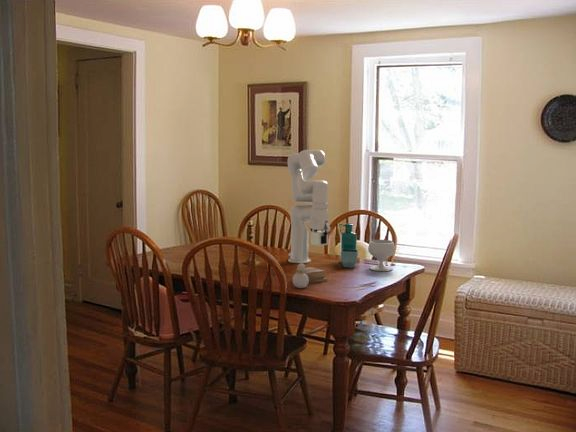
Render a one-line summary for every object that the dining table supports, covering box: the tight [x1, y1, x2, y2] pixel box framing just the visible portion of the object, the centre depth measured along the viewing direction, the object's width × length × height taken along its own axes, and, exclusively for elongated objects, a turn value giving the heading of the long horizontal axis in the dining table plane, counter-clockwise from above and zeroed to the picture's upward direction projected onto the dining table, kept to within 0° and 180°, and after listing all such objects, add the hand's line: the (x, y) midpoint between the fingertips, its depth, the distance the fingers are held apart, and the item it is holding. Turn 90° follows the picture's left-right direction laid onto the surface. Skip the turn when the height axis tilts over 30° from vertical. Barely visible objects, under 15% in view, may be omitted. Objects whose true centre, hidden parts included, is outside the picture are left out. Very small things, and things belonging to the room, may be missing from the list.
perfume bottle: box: [291, 262, 309, 289], centre depth 280 cm, size 8×10×12 cm
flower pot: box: [340, 249, 359, 269], centre depth 330 cm, size 9×9×9 cm
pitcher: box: [338, 222, 358, 264], centre depth 342 cm, size 10×8×22 cm
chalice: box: [367, 239, 396, 272], centre depth 324 cm, size 14×14×15 cm
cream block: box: [310, 230, 329, 247], centre depth 303 cm, size 6×6×6 cm
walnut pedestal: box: [291, 266, 328, 285], centre depth 297 cm, size 12×12×5 cm
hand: (319, 242), depth 303 cm, fingers closed on cream block, 6 cm apart
